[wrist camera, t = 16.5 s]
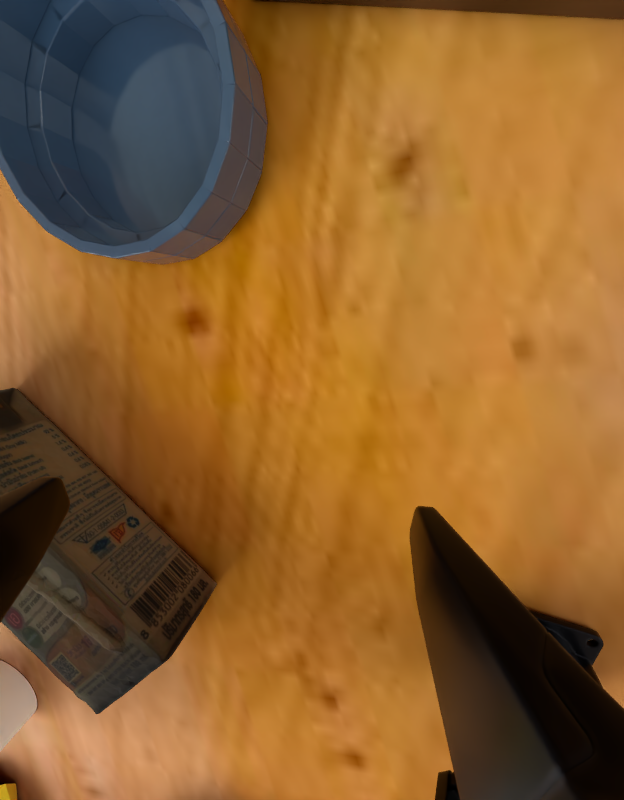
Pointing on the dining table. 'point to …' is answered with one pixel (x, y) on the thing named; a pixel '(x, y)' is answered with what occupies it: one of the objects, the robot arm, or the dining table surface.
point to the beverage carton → (95, 570)
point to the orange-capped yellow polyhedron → (8, 792)
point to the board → (504, 6)
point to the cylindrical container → (14, 702)
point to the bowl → (130, 123)
